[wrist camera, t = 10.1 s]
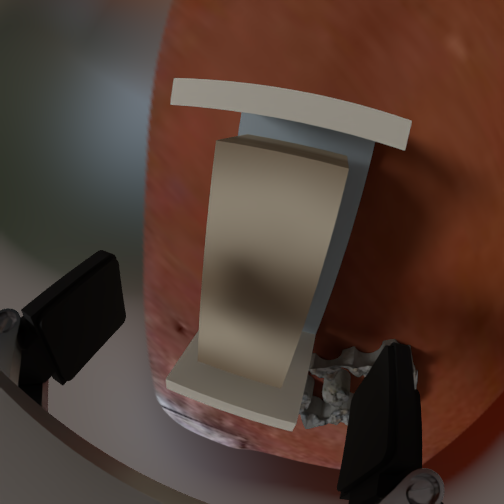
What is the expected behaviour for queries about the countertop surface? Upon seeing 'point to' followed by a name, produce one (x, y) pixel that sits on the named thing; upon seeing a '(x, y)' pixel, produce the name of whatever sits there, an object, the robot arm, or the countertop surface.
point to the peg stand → (359, 157)
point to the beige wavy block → (264, 251)
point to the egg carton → (336, 385)
